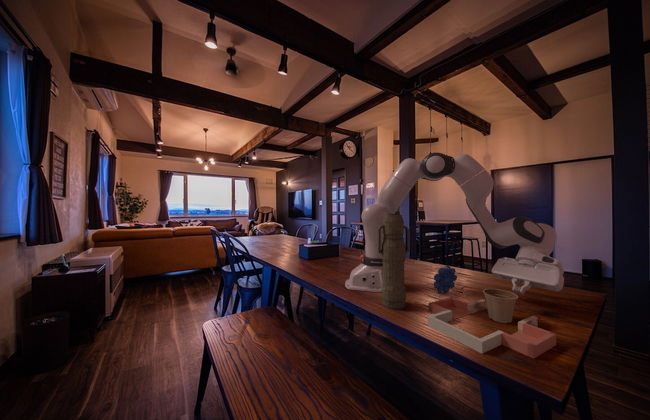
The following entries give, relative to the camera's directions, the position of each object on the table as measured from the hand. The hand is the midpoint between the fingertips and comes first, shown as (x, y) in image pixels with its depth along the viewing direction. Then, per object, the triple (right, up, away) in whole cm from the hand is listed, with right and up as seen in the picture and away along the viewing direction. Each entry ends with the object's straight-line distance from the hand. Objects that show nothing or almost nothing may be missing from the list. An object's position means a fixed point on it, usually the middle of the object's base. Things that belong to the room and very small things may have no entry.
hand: (517, 292), depth 84 cm
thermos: (-41, -8, +7) cm, 43 cm away
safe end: (-27, -7, -14) cm, 31 cm away
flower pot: (-10, -7, -5) cm, 13 cm away
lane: (-10, -7, -5) cm, 13 cm away
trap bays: (-18, -7, -9) cm, 22 cm away
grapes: (-16, -7, +21) cm, 27 cm away
